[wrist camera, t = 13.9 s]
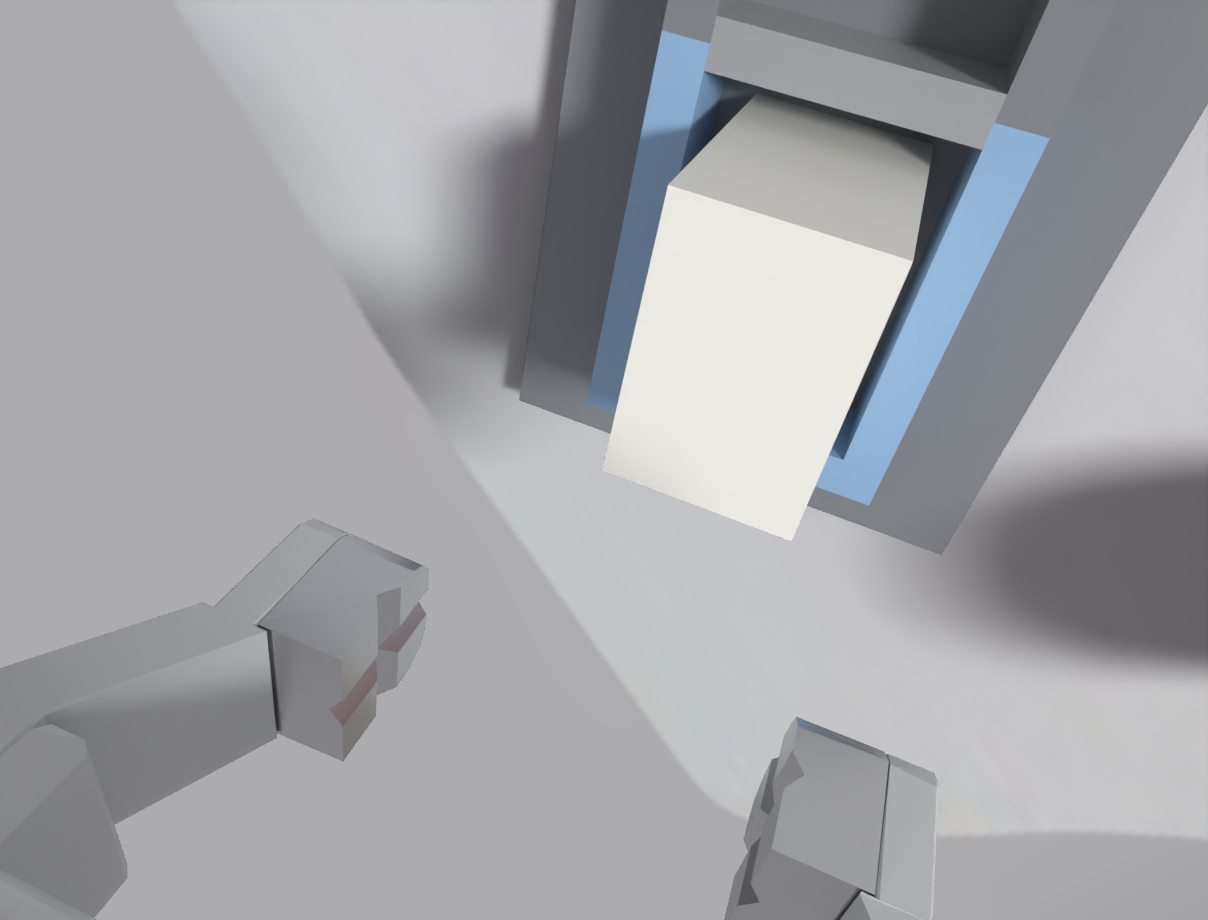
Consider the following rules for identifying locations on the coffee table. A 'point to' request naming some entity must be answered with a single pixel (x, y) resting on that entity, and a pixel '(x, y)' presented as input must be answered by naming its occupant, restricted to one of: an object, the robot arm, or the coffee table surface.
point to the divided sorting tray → (949, 216)
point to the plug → (765, 308)
